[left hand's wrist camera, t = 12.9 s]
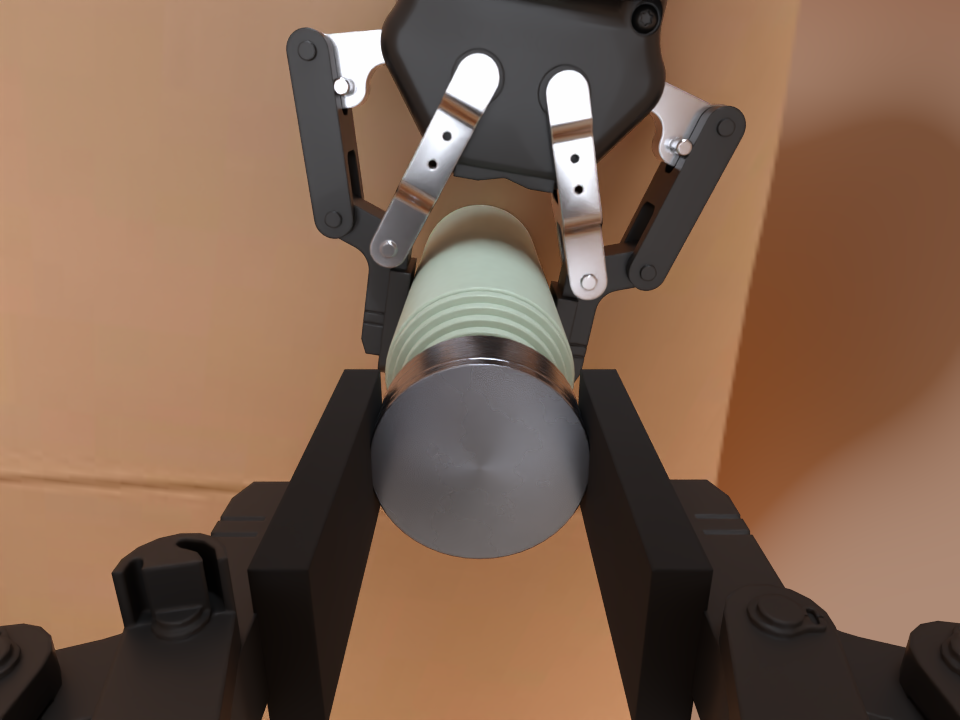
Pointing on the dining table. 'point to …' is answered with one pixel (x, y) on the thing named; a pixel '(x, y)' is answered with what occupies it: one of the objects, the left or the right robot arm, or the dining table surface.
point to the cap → (479, 448)
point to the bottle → (479, 291)
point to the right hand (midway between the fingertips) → (468, 375)
